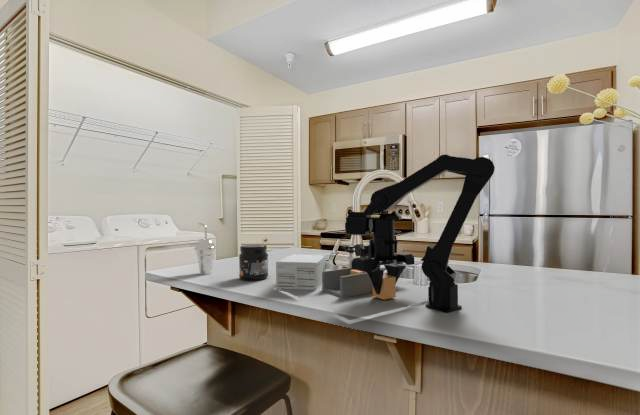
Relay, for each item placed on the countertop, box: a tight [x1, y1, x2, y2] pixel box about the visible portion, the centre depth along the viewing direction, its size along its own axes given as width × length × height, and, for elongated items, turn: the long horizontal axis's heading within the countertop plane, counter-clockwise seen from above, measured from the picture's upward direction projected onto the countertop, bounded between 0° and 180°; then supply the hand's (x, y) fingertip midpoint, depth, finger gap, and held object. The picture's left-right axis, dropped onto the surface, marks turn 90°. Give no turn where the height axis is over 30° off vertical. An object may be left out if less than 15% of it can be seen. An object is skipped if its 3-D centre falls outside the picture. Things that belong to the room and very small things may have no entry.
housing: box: [321, 267, 373, 299], centre depth 101 cm, size 10×14×6 cm
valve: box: [341, 244, 356, 268], centre depth 120 cm, size 7×7×12 cm
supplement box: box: [275, 254, 327, 292], centre depth 111 cm, size 17×13×9 cm
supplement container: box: [238, 243, 269, 282], centre depth 123 cm, size 10×10×12 cm
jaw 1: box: [350, 270, 366, 275], centre depth 103 cm, size 4×4×6 cm
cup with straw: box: [193, 222, 217, 275], centre depth 133 cm, size 8×9×20 cm
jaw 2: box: [372, 273, 397, 300], centre depth 92 cm, size 4×4×6 cm
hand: (384, 292), depth 92 cm, fingers closed on jaw 2, 4 cm apart
